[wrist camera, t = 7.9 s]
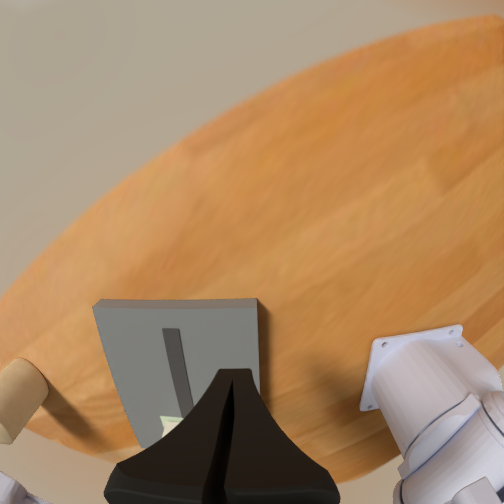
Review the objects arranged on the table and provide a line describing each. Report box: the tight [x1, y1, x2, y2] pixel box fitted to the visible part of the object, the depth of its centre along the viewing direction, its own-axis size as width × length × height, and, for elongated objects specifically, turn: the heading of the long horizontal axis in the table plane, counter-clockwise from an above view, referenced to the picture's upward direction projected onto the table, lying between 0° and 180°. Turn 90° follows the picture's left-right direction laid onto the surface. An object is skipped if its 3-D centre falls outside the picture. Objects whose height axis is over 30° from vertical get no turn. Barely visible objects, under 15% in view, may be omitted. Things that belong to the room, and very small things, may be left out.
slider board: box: [92, 298, 260, 448], centre depth 22 cm, size 12×16×2 cm
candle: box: [0, 358, 49, 445], centre depth 19 cm, size 6×6×10 cm
